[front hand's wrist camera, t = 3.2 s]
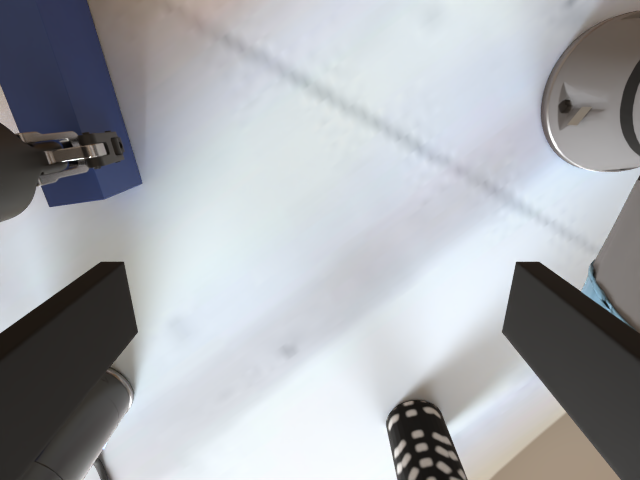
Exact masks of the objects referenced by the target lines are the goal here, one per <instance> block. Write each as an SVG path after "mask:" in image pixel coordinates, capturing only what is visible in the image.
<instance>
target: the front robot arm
mask: <svg viewBox="0 0 640 480" xmlns="http://www.w3.org/2000/svg"><path fill="white" fill-rule="evenodd" d="M541 120H542V127H543V131H544V134H545V137H546V139H547V141H548V143H549V145H550V147H551V148H552V149H553V151H554V152H555V153H556V154H557V155H558V156H559V157H560V158H561V159H563V160H564V161H566V162H567V163H569V164H571V165H573V166H576V167H579V168H583V169H587V170H591V171H598V172H619V171H625V170H630V169H634V168H638V167H640V11H635V12H630V13H626V14H623V15H619V16H616V17H613V18H610V19H607V20H605V21H603V22H601V23H599V24H597V25H595V26H593V27H592V28H590V29H589V30H587V31H586V32H584V33H583V34H582V35H581V36H579V37H578V38H577V39H576V40H575V41H574V42H573V43H572V44H571V45H570V46H569V47H568V48H567V49H566V51H565V52H564V53H563V54H562V56H561V57H560V58H559V60H558V61H557V63H556V65H555V66H554V68H553V70H552V72H551V74H550V76H549V78H548V81H547V83H546V86H545V90H544V93H543V98H542V105H541ZM137 333H138V330H137V325H136V320H135V315H134V310H133V305H132V300H131V295H130V290H129V285H128V280H127V275H126V270H125V265H124V262H100V263H99V264H97V265H96V266H94V267H93V268H92V269H90V270H89V271H87V272H86V273H85V274H83V275H82V276H80V277H79V278H77V279H76V280H75V281H73V282H72V283H70V284H69V285H68V286H66V287H65V288H63V289H62V290H61V291H59V292H58V293H56V294H55V295H54V296H52V297H51V298H49V299H48V300H47V301H45V302H44V303H42V304H41V305H39V306H38V307H37V308H35V309H34V310H32V311H31V312H30V313H28V314H27V315H25V316H24V317H23V318H21V319H20V320H18V321H17V322H16V323H14V324H13V325H11V326H10V327H9V328H7V329H6V330H4V331H3V332H2V333H0V480H19V479H20V478H21V477H22V475H23V474H24V473H25V472H26V470H27V469H28V468H29V467H30V465H31V464H32V463H33V462H34V460H35V459H36V458H37V457H38V456H39V454H40V453H41V452H42V451H43V449H44V448H45V447H46V446H47V444H48V443H49V442H50V441H51V439H52V438H53V437H54V436H55V434H56V433H57V432H58V431H59V429H60V428H61V427H62V426H63V424H64V423H65V422H66V421H67V420H68V418H69V417H70V416H71V415H72V413H73V412H74V411H75V410H76V408H77V407H78V406H79V405H80V403H81V402H82V401H83V400H84V398H85V397H86V396H87V395H88V393H89V392H90V391H91V390H92V388H93V387H94V386H95V385H96V384H97V382H98V381H99V380H100V379H101V377H102V376H103V375H104V374H105V372H106V371H107V370H108V369H109V367H110V366H111V365H112V364H113V362H114V361H115V360H116V359H117V357H118V356H119V355H120V354H121V352H122V351H123V350H124V349H125V348H126V346H127V345H128V344H129V343H130V341H131V340H132V339H133V338H134V336H135V335H136V334H137ZM502 333H503V334H504V335H505V336H506V338H507V339H508V340H509V341H510V343H511V344H512V345H513V346H514V348H515V349H516V350H517V351H518V352H519V354H520V355H521V356H522V357H523V359H524V360H525V361H526V362H527V364H528V365H529V366H530V367H531V369H532V370H533V371H534V372H535V374H536V375H537V376H538V377H539V379H540V380H541V381H542V382H543V384H544V385H545V386H546V387H547V388H548V390H549V391H550V392H551V393H552V395H553V396H554V397H555V398H556V400H557V401H558V402H559V403H560V405H561V406H562V407H563V408H564V410H565V411H566V412H567V413H568V415H569V416H570V417H571V418H572V419H573V421H574V422H575V423H576V424H577V426H578V427H579V428H580V429H581V431H582V432H583V433H584V434H585V436H586V437H587V438H588V439H589V441H590V442H591V443H592V444H593V446H594V447H595V448H596V449H597V451H598V452H599V453H600V454H601V456H602V457H603V458H604V459H605V460H606V462H607V463H608V464H609V465H610V467H611V468H612V469H613V470H614V472H615V473H616V474H617V475H618V477H619V478H620V479H621V480H640V176H639V178H638V180H637V181H636V183H635V185H634V187H633V189H632V191H631V193H630V195H629V197H628V198H627V200H626V202H625V204H624V206H623V208H622V210H621V212H620V214H619V216H618V218H617V220H616V222H615V224H614V226H613V228H612V230H611V232H610V233H609V235H608V237H607V239H606V241H605V243H604V245H603V246H602V248H601V250H600V252H599V254H598V256H597V258H596V259H595V260H594V261H593V262H592V263H591V265H590V266H589V272H588V277H587V280H586V282H585V284H584V287H583V289H582V291H579V290H578V289H577V288H575V287H574V286H572V285H571V284H570V283H568V282H567V281H565V280H564V279H563V278H561V277H560V276H558V275H557V274H555V273H554V272H553V271H551V270H550V269H548V268H547V267H546V266H544V265H543V264H541V263H540V262H516V265H515V270H514V275H513V280H512V285H511V290H510V295H509V300H508V305H507V310H506V315H505V320H504V325H503V330H502Z"/></svg>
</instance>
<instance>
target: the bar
mask: <svg viewBox="0 0 640 480" xmlns="http://www.w3.org/2000/svg"><path fill="white" fill-rule="evenodd" d="M0 85H1V87H2V90H3V92H4V95H5V97H6V100H7V102H8V105H9V107H10V110H11V112H12V115H13V117H14V120H15V122H16V125H17V127H18V130H19V132H20V133H26V132H39V133H40V134H50V133H59V132H68V131H73V132H75V133H76V134H77V135H82V133H84V132H90V134H91V133H104V132H105V131H110V130H111V132H116V134H117V136H118V137H121V141H122V144H123V147H124V150H125V152H123V156H124V160H121V162H117V163H112V164H109V165H106V166H101V168H100V169H94V168H89V170H88V171H87V172H85V173H81V174H76V175H71V176H67V177H62V178H59V179H58V180H57V181H56V182H55V183H50V184H46V185H41V187H42V190H43V192H44V195H45V197H46V200H47V202H48V205H49V207H54V206H61V205H68V204H75V203H83V202H90V201H97V200H104V199H106V198H109V197H111V196H114V195H116V194H119V193H121V192H123V191H126V190H128V189H131V188H133V187H135V186H138V185H140V184H142V180H141V177H140V174H139V170H138V167H137V164H136V160H135V157H134V154H133V151H132V147H131V144H130V141H129V138H128V134H127V131H126V128H125V124H124V121H123V118H122V115H121V111H120V108H119V105H118V101H117V98H116V95H115V92H114V88H113V85H112V82H111V79H110V75H109V72H108V69H107V65H106V62H105V59H104V56H103V52H102V49H101V46H100V42H99V39H98V36H97V33H96V29H95V26H94V23H93V20H92V16H91V13H90V10H89V6H88V3H87V0H0ZM52 141H54V142H57V143H59V144H60V145H61V146H62V148H63V145H62V144H61V142H59V141H57V140H52ZM44 142H48V141H44ZM36 143H40V142H36ZM63 149H64V148H63ZM67 162H68V161H67ZM68 167H69V162H68V165H67V167H66V169H67V168H68ZM64 170H65V169H64Z"/></svg>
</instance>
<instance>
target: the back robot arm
mask: <svg viewBox="0 0 640 480" xmlns="http://www.w3.org/2000/svg"><path fill="white" fill-rule="evenodd" d="M52 140H57V141H59V142H61V144H62V145H63V148H64V149H63V148H62V146H61V145H60V144H59V143H57V142H54V141H52ZM44 141H48V142H44ZM36 142H40V143H36ZM123 152H125V150H124V147H123V144H122V141H121V137H118V136H117V134H116V132H111V130H110V131H105V132H104V133H91V134H90V132H84V133H82V135H77V134H76V133H75V132H73V131H68V132H59V133H50V134H40V133H39V132H26V133H17V134H14V133H13V132H12V131H11V130H9V129H8V128H7V127H6V126H4V125H3V124H1V123H0V222H2V221H5V220H8V219H11V218H13V217H15V216H17V215H19V214H20V213H22V212H23V211H24V210H25V209H26V208H27V207H28V205H29V204H30V203H31V201H32V199H33V197H34V194H35V190H36V186H41V185H46V184H50V183H55V182H56V181H57V180H58V179H59V178H62V177H67V176H71V175H76V174H81V173H85V172H87V171H88V170H89V168H94V169H100V168H101V166H106V165H109V164H112V163H117V162H121V160H124V156H123ZM67 161H68V162H69V167H68V168H67V169H66V167H67V165H68V162H67ZM64 169H65V170H64ZM133 399H134V395H133V390H132V387H131V385H130V384H129V382H128V381H127V380H126V378H125V377H124V376H122V375H121V374H120V373H118V372H117V371H115V370H113V369H111V368H109V369H108V370H107V371H106V372H105V374H104V375H103V376H102V377H101V379H100V380H99V381H98V382H97V384H96V385H95V386H94V387H93V388H92V390H91V391H90V392H89V393H88V395H87V396H86V397H85V398H84V400H83V401H82V402H81V403H80V405H79V406H78V407H77V408H76V410H75V411H74V412H73V413H72V415H71V416H70V417H69V418H68V420H67V421H66V422H65V423H64V424H63V426H62V427H61V428H60V429H59V431H58V432H57V433H56V434H55V436H54V437H53V438H52V439H51V441H50V442H49V443H48V444H47V446H46V447H45V448H44V449H43V451H42V452H41V453H40V454H39V456H38V457H37V458H36V459H35V460H34V462H33V463H32V464H31V465H30V467H29V468H28V469H27V470H26V472H25V473H24V474H23V475H22V477H21V478H20V479H19V480H83V479H84V478H85V476H86V475H87V473H88V471H89V470H90V468H91V467H92V465H94V466H95V468H96V469H97V471H98V474H99V476H100V479H101V480H108V478H107V475H106V472H105V469H104V467H103V465H102V463H101V461H100V460H99V459H98V457H99V455H100V454H101V452H102V451H103V449H104V447H105V446H106V444H107V441H108V440H109V438H110V437H111V435H112V434H113V432H114V430H115V429H116V428H117V426H118V424H119V423H120V421H121V420H122V418H123V417H124V415H125V414H126V413H127V412H128V410H129V408H130V407H131V405H132V403H133Z"/></svg>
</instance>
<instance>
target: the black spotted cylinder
mask: <svg viewBox="0 0 640 480" xmlns="http://www.w3.org/2000/svg"><path fill="white" fill-rule="evenodd" d="M386 427H387V431H388V436H389V441H390V446H391V451H392V456H393V460H394V465H395V470H396V475H397V480H467V477H466V474H465V472H464V469H463V467H462V464H461V462H460V459H459V457H458V454H457V452H456V449H455V447H454V444H453V441H452V439H451V436H450V434H449V431H448V429H447V426H446V424H445V421H444V419H443V416H442V414H441V412H440V410H439V409H438V408H437V407H436V406H435V405H433V404H431V403H429V402H425V401H409V402H405V403H402V404H400V405H399V406H397V407H396V408H394V409H393V410H392V411H391V412H390V414H389V416H388V418H387V421H386Z"/></svg>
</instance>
